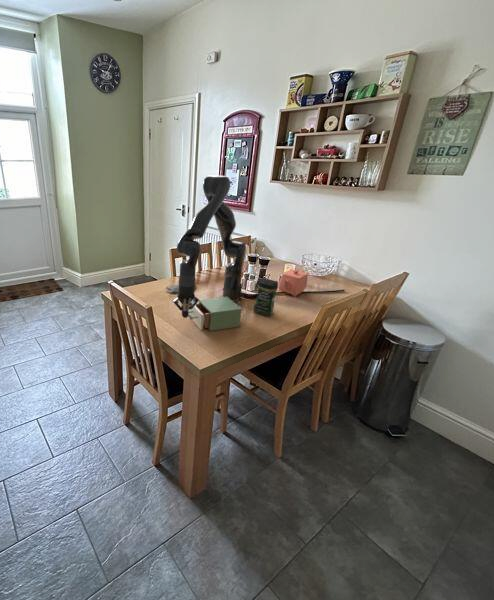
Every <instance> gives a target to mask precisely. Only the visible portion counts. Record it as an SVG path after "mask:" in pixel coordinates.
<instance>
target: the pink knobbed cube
mask: <svg viewBox="0 0 494 600" xmlns="http://www.w3.org/2000/svg"><path fill="white" fill-rule="evenodd" d="M307 284H308V273H307V272H305V271H303V270H298V269H289V270H286V271H284V272H283V273H282V274H281V277H280V279H279V282H278V291H279V292H287V293H286V294H290V295H291V296H292V297H297V296H298V295H299V294H302V293H301V292H305V290H306V289H307Z"/></svg>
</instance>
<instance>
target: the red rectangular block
mask: <svg viewBox="0 0 494 600" xmlns="http://www.w3.org/2000/svg"><path fill="white" fill-rule="evenodd" d="M199 310H200V311H201V312H202V313H203V314H204V321H203V323H205V313H210V312H209V311H208V310H207V309H199Z"/></svg>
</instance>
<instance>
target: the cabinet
mask: <svg viewBox="0 0 494 600" xmlns="http://www.w3.org/2000/svg"><path fill="white" fill-rule="evenodd" d="M198 303H201V304H202V305H203V306H204V307H205V308H206V309H207V310H208V311H209V312H210V313H211V318H210V327H207V328H206V329H207V330H209V331H219V330H223V329H224V330H225V329H230V328H231V329H233V328H239V327H240V326H241V325H240V324H241V317H242V310H243V309H242V307H240V306H239V305H238V304H236V303H235V301H232V300H230V299H229V298H228V297H214V298H204V299H203V298H202V299H199V301H198Z"/></svg>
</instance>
